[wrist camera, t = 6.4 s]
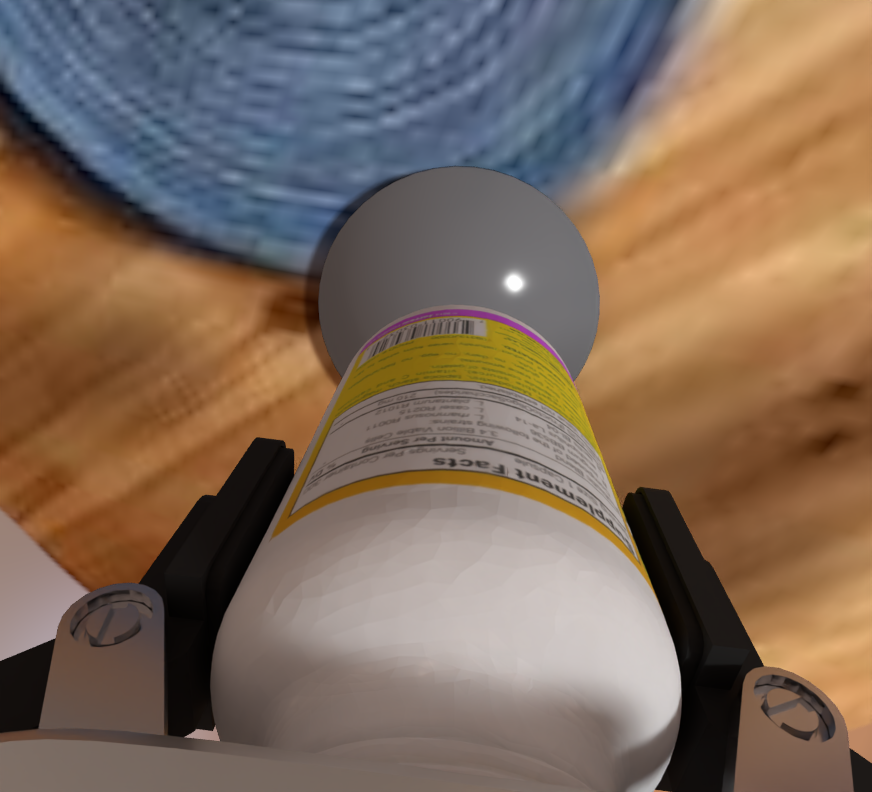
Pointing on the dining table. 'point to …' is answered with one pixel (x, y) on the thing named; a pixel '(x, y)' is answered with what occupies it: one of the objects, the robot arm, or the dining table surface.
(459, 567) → the supplement bottle
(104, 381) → the dining table surface
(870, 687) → the dining table surface
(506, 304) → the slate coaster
